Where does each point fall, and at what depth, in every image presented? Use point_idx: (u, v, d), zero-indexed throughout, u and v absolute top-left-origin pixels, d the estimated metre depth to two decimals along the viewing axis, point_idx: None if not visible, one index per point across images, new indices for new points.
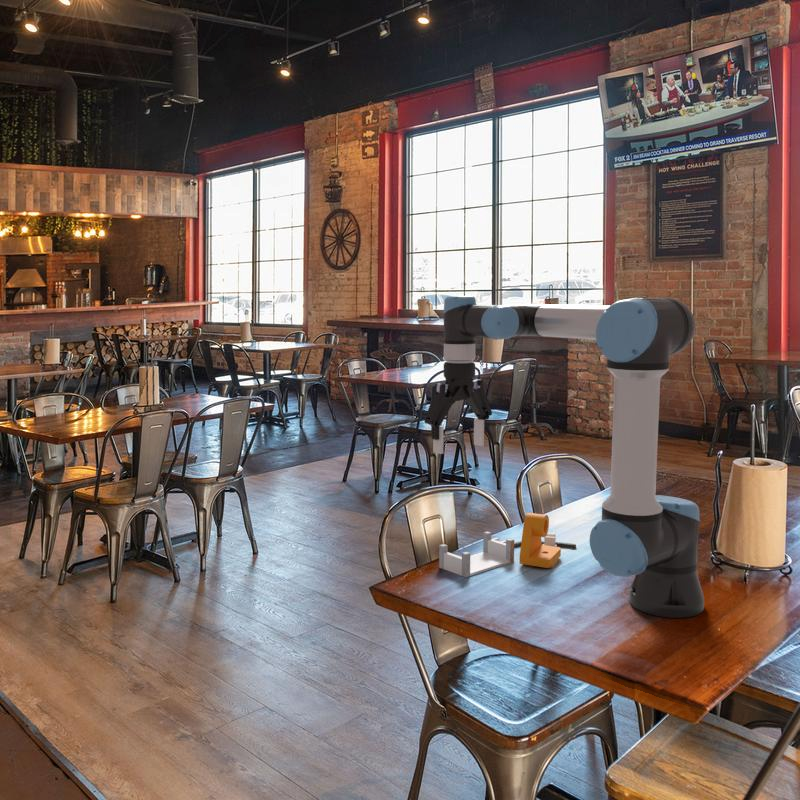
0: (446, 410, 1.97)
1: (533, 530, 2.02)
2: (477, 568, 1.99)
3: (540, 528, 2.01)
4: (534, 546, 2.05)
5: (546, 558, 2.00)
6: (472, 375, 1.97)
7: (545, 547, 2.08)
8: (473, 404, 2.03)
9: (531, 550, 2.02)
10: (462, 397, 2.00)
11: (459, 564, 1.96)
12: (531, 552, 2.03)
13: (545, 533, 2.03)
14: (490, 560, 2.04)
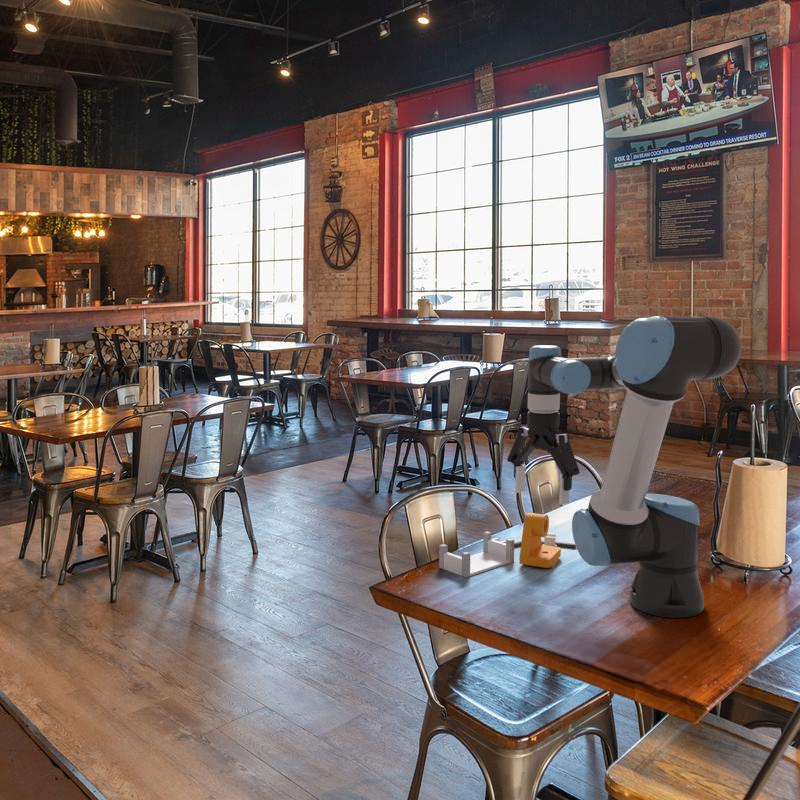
0: (522, 453, 2.04)
1: (533, 530, 2.02)
2: (477, 568, 1.99)
3: (540, 528, 2.01)
4: (534, 546, 2.05)
5: (546, 558, 2.00)
6: (535, 425, 1.97)
7: (545, 547, 2.08)
8: None
9: (531, 550, 2.02)
10: (539, 446, 2.00)
11: (459, 564, 1.96)
12: (531, 552, 2.03)
13: (545, 533, 2.03)
14: (490, 560, 2.04)
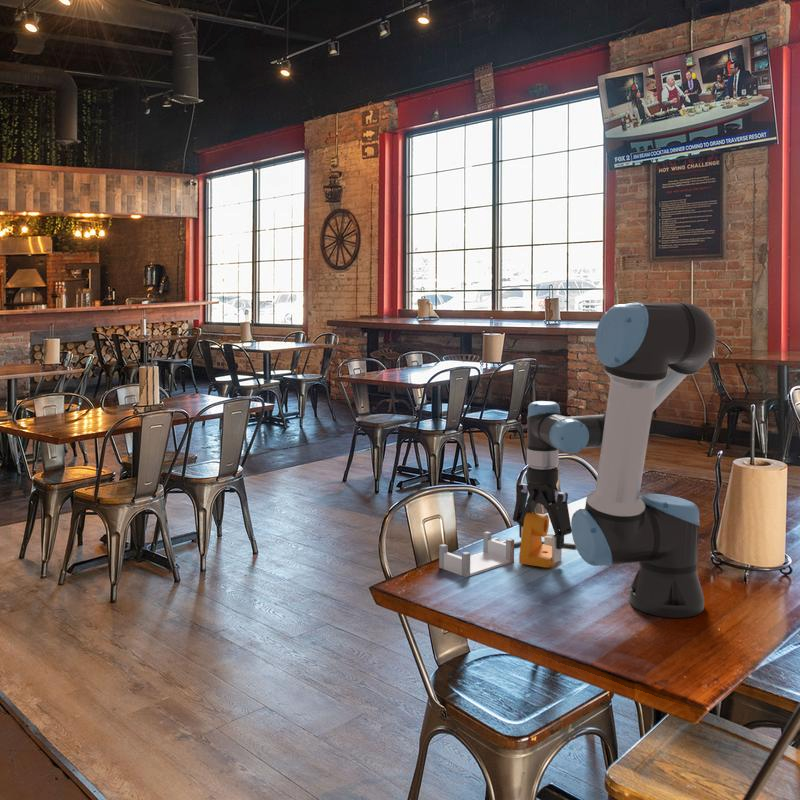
0: (525, 511, 2.06)
1: (533, 530, 2.02)
2: (477, 568, 1.99)
3: (540, 527, 2.01)
4: (534, 546, 2.05)
5: (546, 558, 2.00)
6: (534, 481, 1.99)
7: (545, 547, 2.08)
8: None
9: (530, 550, 2.02)
10: (539, 501, 2.02)
11: (459, 564, 1.96)
12: (531, 552, 2.03)
13: (545, 533, 2.03)
14: (490, 560, 2.04)
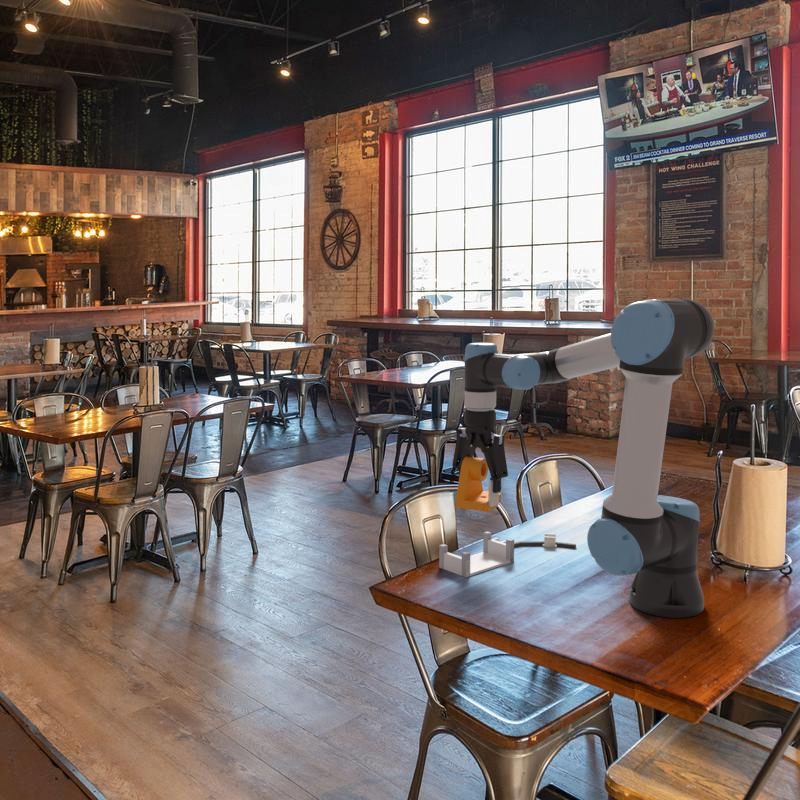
0: (464, 456, 2.02)
1: (470, 473, 1.99)
2: (477, 568, 1.99)
3: (477, 471, 1.98)
4: (472, 491, 2.01)
5: (482, 501, 1.96)
6: (471, 423, 1.96)
7: (485, 492, 2.05)
8: None
9: (468, 494, 1.99)
10: (476, 444, 1.99)
11: (459, 564, 1.96)
12: (468, 496, 1.99)
13: (483, 477, 2.00)
14: (490, 560, 2.04)
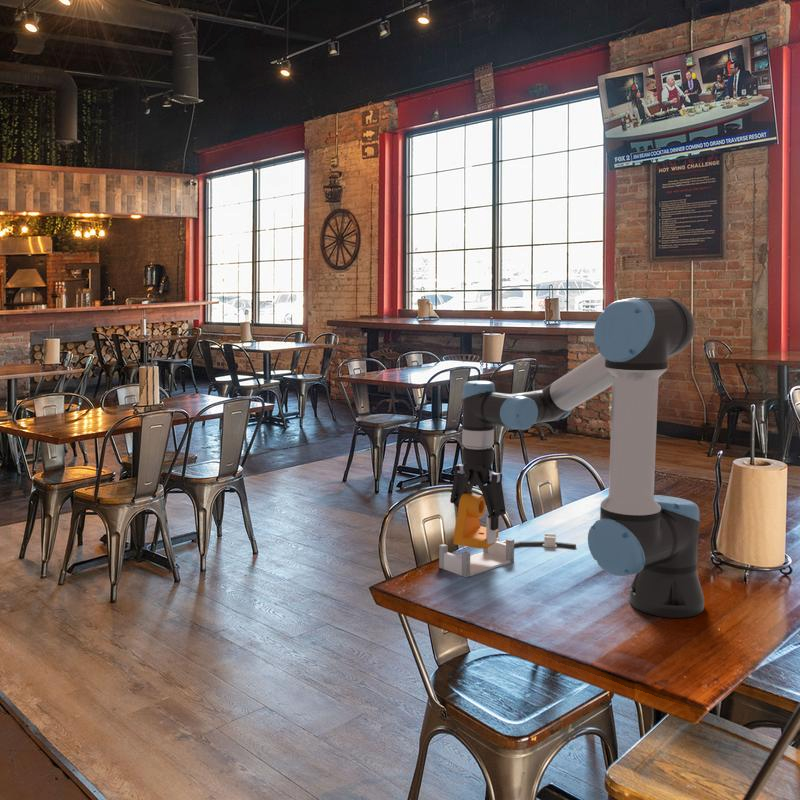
0: (461, 492, 2.03)
1: (468, 510, 2.00)
2: (477, 568, 1.99)
3: (474, 508, 1.99)
4: (470, 527, 2.02)
5: (480, 539, 1.97)
6: (469, 461, 1.97)
7: (482, 528, 2.06)
8: None
9: (465, 531, 2.00)
10: (474, 482, 2.00)
11: (459, 564, 1.96)
12: (466, 533, 2.00)
13: (481, 514, 2.01)
14: (490, 560, 2.04)
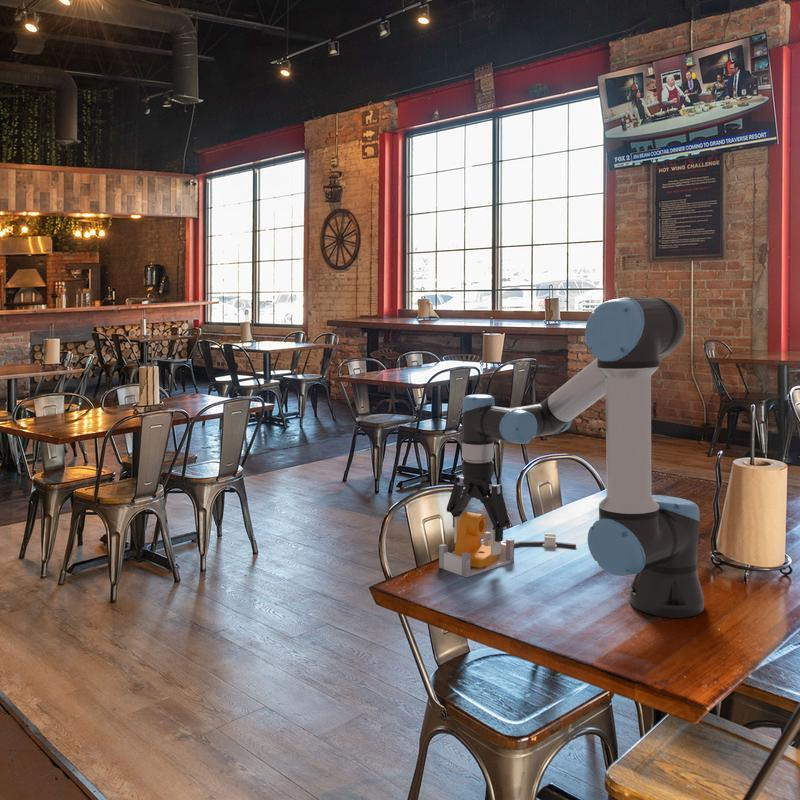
0: (459, 503, 2.04)
1: (468, 529, 2.00)
2: (477, 568, 1.99)
3: (474, 527, 1.99)
4: (470, 546, 2.03)
5: (479, 558, 1.98)
6: (469, 475, 1.97)
7: (483, 547, 2.06)
8: None
9: (466, 549, 2.01)
10: (474, 495, 2.00)
11: (459, 564, 1.96)
12: (466, 551, 2.01)
13: (481, 533, 2.02)
14: None
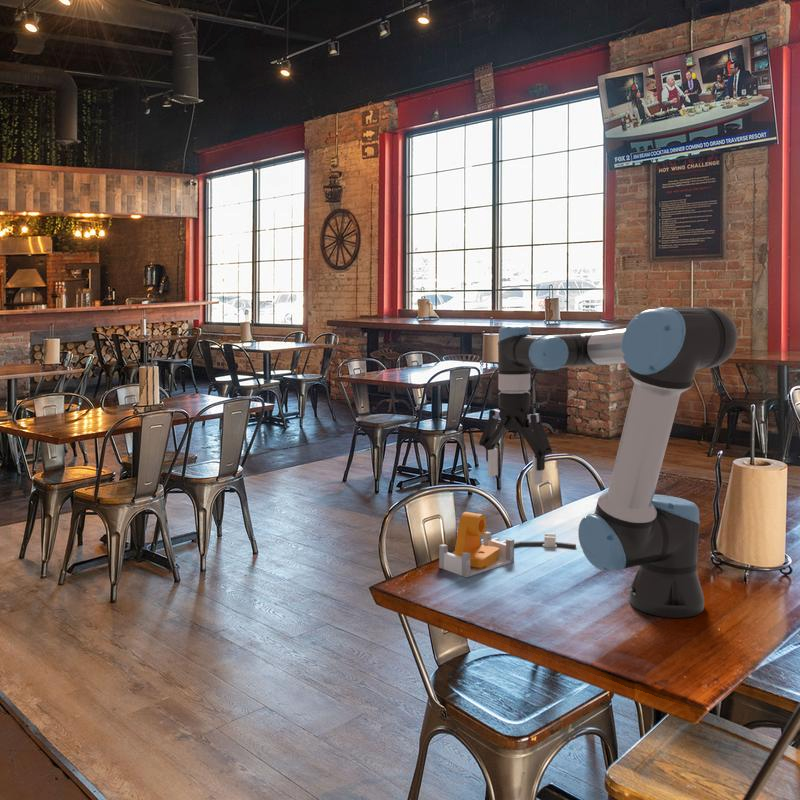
0: (494, 436, 2.03)
1: (468, 529, 2.00)
2: (477, 568, 1.99)
3: (474, 527, 1.99)
4: (470, 546, 2.03)
5: (479, 558, 1.98)
6: (507, 406, 1.96)
7: (483, 547, 2.06)
8: None
9: (466, 549, 2.01)
10: (511, 427, 1.99)
11: (459, 564, 1.96)
12: (466, 551, 2.01)
13: (481, 533, 2.02)
14: None
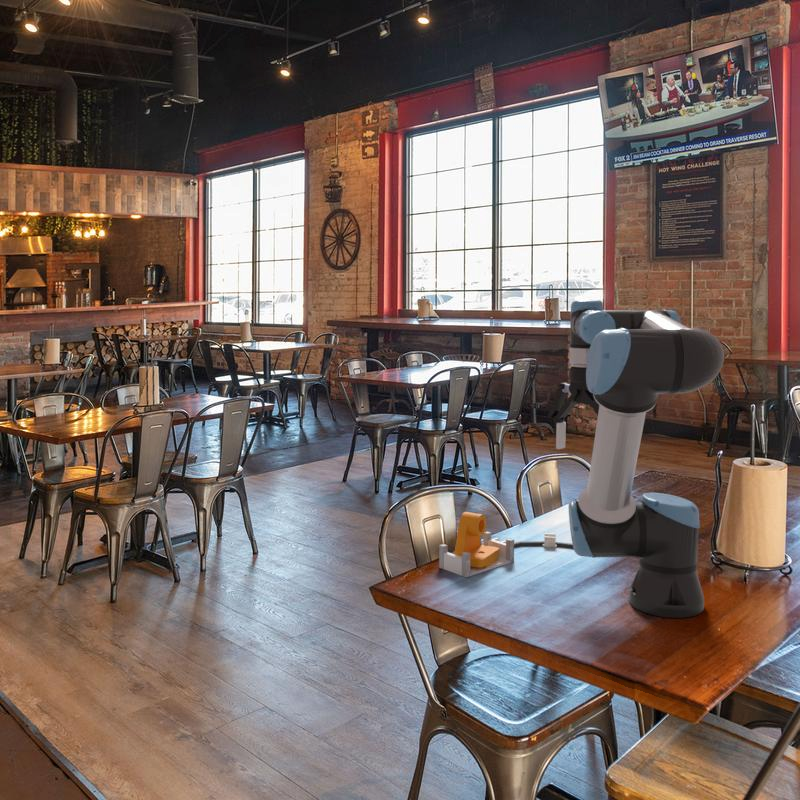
0: (563, 409, 2.05)
1: (468, 529, 2.00)
2: (477, 568, 1.99)
3: (474, 527, 1.99)
4: (470, 546, 2.03)
5: (479, 558, 1.98)
6: (578, 379, 1.98)
7: (483, 547, 2.06)
8: None
9: (466, 549, 2.01)
10: (581, 401, 2.01)
11: (459, 564, 1.96)
12: (466, 551, 2.01)
13: (481, 533, 2.02)
14: None
